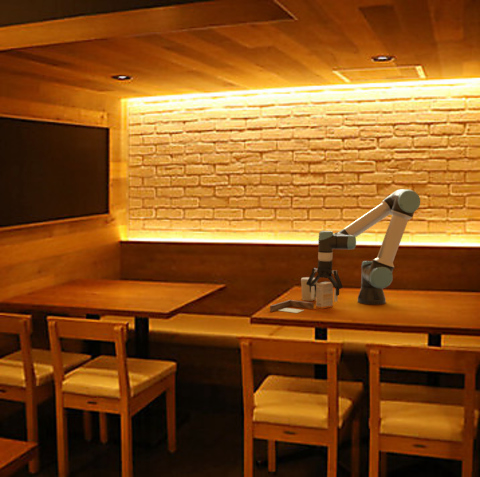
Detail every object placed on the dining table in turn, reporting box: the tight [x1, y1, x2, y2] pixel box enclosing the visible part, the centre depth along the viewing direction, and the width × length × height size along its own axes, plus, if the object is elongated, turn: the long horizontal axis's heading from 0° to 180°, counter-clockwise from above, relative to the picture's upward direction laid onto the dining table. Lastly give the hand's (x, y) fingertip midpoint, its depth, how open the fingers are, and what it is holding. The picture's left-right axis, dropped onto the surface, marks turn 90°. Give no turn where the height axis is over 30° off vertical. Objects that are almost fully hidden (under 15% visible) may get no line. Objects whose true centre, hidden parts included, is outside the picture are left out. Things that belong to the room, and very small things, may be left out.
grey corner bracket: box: [269, 299, 315, 313], centre depth 353 cm, size 14×20×3 cm
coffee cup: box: [300, 276, 318, 302], centre depth 383 cm, size 9×9×12 cm
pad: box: [277, 307, 305, 314], centre depth 352 cm, size 11×8×1 cm
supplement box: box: [315, 281, 334, 309], centre depth 362 cm, size 8×5×13 cm, turn 128°
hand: (323, 300), depth 362 cm, fingers open, 13 cm apart
